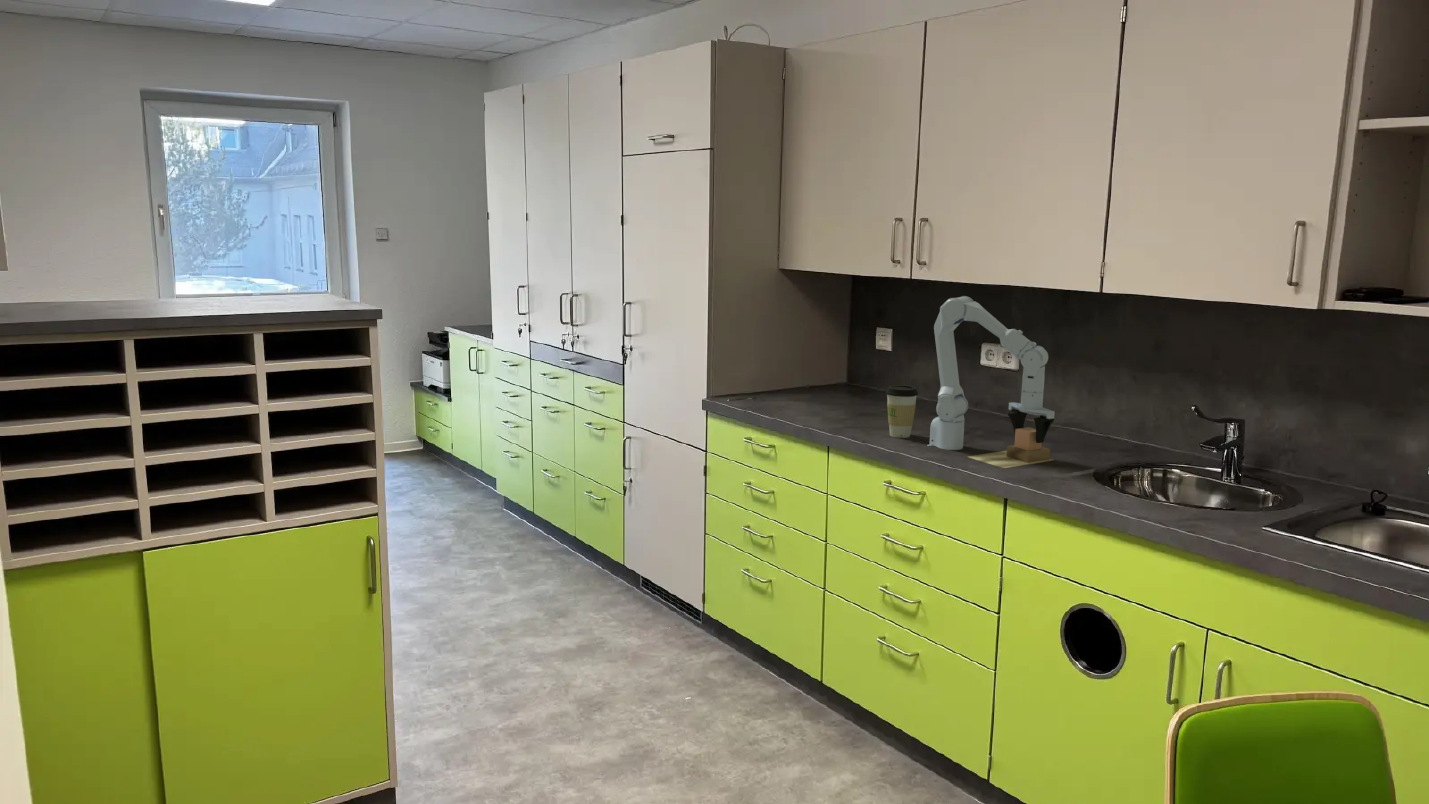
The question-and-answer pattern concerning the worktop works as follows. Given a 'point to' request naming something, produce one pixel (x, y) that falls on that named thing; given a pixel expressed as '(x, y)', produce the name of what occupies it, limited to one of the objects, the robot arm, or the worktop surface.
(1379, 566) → the worktop surface
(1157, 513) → the worktop surface
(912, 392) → the coffee cup
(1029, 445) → the cube
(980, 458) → the stacking base
